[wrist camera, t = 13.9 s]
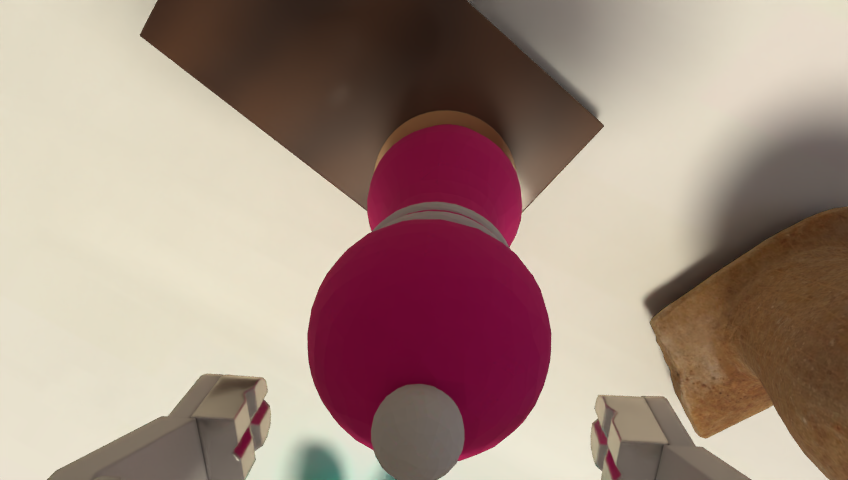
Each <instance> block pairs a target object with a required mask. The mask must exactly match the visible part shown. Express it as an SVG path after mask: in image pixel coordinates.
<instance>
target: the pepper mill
mask: <svg viewBox="0 0 848 480" xmlns="http://www.w3.org/2000/svg"><path fill="white" fill-rule="evenodd" d="M521 212H522V197H521V187H520V183H519V180H518V176H517V173H516V171H515V169H514V167H513V165H512V163H511V161H510V160H509V158H508V157H507V156H506V155H505V153H504V152H503V151H502V150H501V149H500V147H498V146H497V145H496V144H495V143H493V142H492V141H491V140H490V139H488V138H487V137H485V136H483V135H481V134H479V133H477V132H475V131H474V130H471V129H469V128H467V127H463V126H459V125H452V124H442V125H435V126H432V127H427V128H424V129H421V130H418V131H415V132H413V133H411V134H409V135H407V136H405V137H403V138H402V139H401V140H399V141H398V142H397V143H395V144H394V145H393V146H392V147H391V148H390V149H389V150H388V151H387V152H386V153H385V155H384V156H383V157H382V159H381V160H380V162H379V163H378V165H377V168H376V170H375V172H374V174H373V177H372V180H371V183H370V188H369V193H368V198H367V213H368V218H369V224H370V227H371V231H372V232H371V233H369V234H367V235H366V236H365V237H363V238H362V239H361V240H359V241H358V242H357V243H355V244H354V245H353V246H351V247H350V248H349V249H348V250H347V251H346V252H345V253H344V254H343V255H342V256H341V257H340V258H339V260H338V261H337V262H336V263H335V265H334V266H333V267H332V268H331V269H330V271H329V272H328V273H327V275H326V277H325V278H324V280H323V282H322V284H321V286H320V288H319V290H318V293H317V295H316V298H315V301H314V304H313V306H312V310H311V316H310V322H309V328H308V358H309V365H310V370H311V375H312V378H313V381H314V384H315V387H316V389H317V391H318V393H319V396H320V398H321V400H322V402H323V403H324V405H325V406H326V408H327V409H328V411H329V412H330V414H331V415H332V416H333V418H334V419H335V420H336V421H337V423H338V424H339V425H340V426H341V427H342V428H343V429H344V430H345V431H346V432H347V433H349V434H350V435H351V436H352V437H353V438H354V439H355V440H357V441H358V442H360V443H362V444H364V445H365V446H367V447H369V448H371V449H372V450H374V452H375V456H376V458H377V459H378V461H379V463H380V465H381V466H382V468H383V469H384V470H385V471H386V472H388V473H389V474H390V475H391V476H393V477H394V478H396V479H397V480H437V479H439V478H441V477H442V476H444V475H445V474H447V473H448V472H449V471H450V470H451V468H452V467H453V466H454V465H455V464H456V463H457V461H461V460H463V459H466V458H469V457H472V456H475V455H477V454H479V453H482V452H484V451H486V450H488V449H490V448H493V447H495V446H496V445H497V444H498V443H500V442H501V441H502V440H503V439H505V438H506V437H507V436H509V435H510V434H511V433H512V432H513V431H515V430H516V429H517V428H518V427H519V426H520V425H521V424H522V423H523V422H524V420H525V419H526V417H527V416H528V415H529V413H530V412H531V410H532V409H533V407H534V406H535V404H536V402H537V400H538V398H539V395H540V393H541V391H542V388H543V386H544V383H545V379H546V376H547V372H548V368H549V363H550V355H551V329H550V323H549V318H548V313H547V310H546V307H545V303H544V300H543V297H542V293H541V290H540V288H539V286H538V284H537V282H536V281H535V279H534V277H533V275H532V274H531V273H530V271H529V270H528V269H527V268H526V266H525V265H524V264H523V262H522V261H521V260H520V259H519V257H518V256H517V255H516V254H515V253H514V252H513V251H511V250H510V248H509V247H510V245H511V243H512V242H513V240H514V238H515V236H516V234H517V230H518V227H519V224H520V221H521Z"/></svg>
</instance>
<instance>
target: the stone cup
mask: <svg viewBox="0 0 848 480" xmlns="http://www.w3.org/2000/svg"><path fill="white" fill-rule="evenodd" d="M650 324H651V326H652V328H653V330H654V332H655V334H656V341H657V343H658V345H659V346H660V348H661V350H662V352H663V354H664V359H665V361H666V363H667V365H668V366H669V368H670V371H671V378H672V382H673V387H674V390H675V393H676V395H677V397H678V398H679V400H680V403H681V405H682V407H683V409H684V411H685V413H686V415H687V417H688V418H689V420H690V422H691V424H692V426H693V428H694V431H695V432H696V433H697V434H698V435H699V436H700V437H702V438H708V437H710V436H712V435H714V434H716V433H718V432H720V431H722V430H724V429H726V428H728V427H730V426H733V425H735V424H737V423H739V422H741V421H743V420H745V419H747V418H749V417H751V416H753V415H755V414H757V413H759V412H761V411H763V410H765V409H767V408H769V407H771V406H773V405H774V407H775V409H776V411H777V412H778V414H779V416H780V417H781V419H782V421H783V422H784V424H785V425H786V427H787V429H788V431H789V432H790V434H791V435H792V437H793V438H794V440H795V441H796V442H797V444H798V445H799V447H800V448H801V450H802V451H803V452H804V454H805V455H806V456H807V457H808V458H809V459H810V460H811V461H812V462H813V463H814V464H815V465H816V467H817V468H818V469H819V470H820V471H821V472H822V473H823V474H824V475H825V476H826V477H827V478H828V479H829V480H848V207H841V208H834V209H830V210H827V211H823V212H820V213H818V214H816V215H813V216H811V217H808V218H806V219H804V220H802V221H800V222H798V223H796V224H794V225H792V226H790V227H788V228H786V229H784V230H782V231H780V232H779V233H777V234H775V235H773V236H772V237H770V238H768V239H766V240H765V241H763V242H762V243H760V244H759V245H757V246H756V247H754V248H753V249H751V250H750V251H748V252H747V253H745V254H744V255H742V256H741V257H739V258H737V259H736V260H734V261H733V262H731V263H730V264H728V265H727V266H725V267H724V268H722V269H720V270H719V271H717V272H716V273H715V274H713V275H712V276H710V277H709V278H707V279H706V280H705V281H703V282H702V283H700V284H699V285H698V286H696V287H695V288H693V289H692V290H690V291H689V292H688V293H686V294H685V295H683V296H682V297H680V298H679V299H677V300H676V301H674V302H673V303H671V304H670V305H668V306H667V307H665V308H664V309H662V310H661V311H660V312H659V313H658V314H656V315H655V316H654V317H653V318H652V319H651V321H650Z"/></svg>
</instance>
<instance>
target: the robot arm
mask: <svg viewBox="0 0 848 480" xmlns="http://www.w3.org/2000/svg"><path fill="white" fill-rule="evenodd" d="M267 392H268V389H267V383H266V380H265V379H264V378H263V377H250V376H237V375H221V374H204V375H202V376H200V378H199V379H198V380H197V381H196V382H195V384H194V385H193V386H192V387H191V389H190V390H189V391H188V392H187V393H186V395H185V396H184V397H183V398H182V400H181V401H180V402H179V403H178V404H177V406H176V407H175V408H174V409H173V411H172V412H171V413H170V414H169V415H168V417H166V416H161V417H159V418H157V419H155V420H153V421H152V422H150V423H148V424H146V425H144V426H142V427H140V428H138V429H136V430H134V431H132V432H130V433H128V434H126V435H124V436H122V437H120V438H119V439H117V440H115V441H113V442H111V443H109V444H107V445H105V446H103V447H101V448H99V449H97V450H95V451H93V452H91V453H89V454H88V455H86V456H84V457H82V458H80V459H78V460H76V461H74V462H72V463H70V464H68V465H66V466H64V467H62V468H60V469H58V470H57V471H55V472H54V473H53V474H52V475H51V476H50V477H49V478H48V479H47V480H246V478H247V476H248V474H249V472H250V470H251V468H252V466H253V464H254V462H255V460H256V458H255V451H256V450H257V449H258V448H260V447H261V446H263V444H264V442H265V440H266V438H267V436H268V432H269V428H270V424H271V411H270V406H269V405H268V403H267V402H266V401H265V400H264V398H265V396H266V394H267ZM595 411H596V414H597V417H598V419H597V420H596V421H594V422H593V423H592V428H591V450H592V455H593V459H594V462H595V465H596V466H597V467H598V468H599V469H600V470H601V471H602V476H601V480H751V479H750V478H748V477H747V476H745V475H744V474H742V473H741V472H739V471H738V470H736V469H735V468H733V467H732V466H730V465H729V464H727V463H726V462H724V461H723V460H721V459H720V458H718V457H717V456H715V455H714V454H712V453H711V452H709V451H708V450H706V449H705V448H703V447H696V446H695V444H694V443H693V441H692V439H691V438H690V436H689V435H688V433H687V431H686V430H685V428H684V426H683V425H682V423H681V421H680V420H679V418H678V416H677V415H676V413H675V412H674V410H673V408H672V407H671V405H670V403H669V402H668V400H667V399H666V398H664V397H661V396H641V397H636V396H615V395H598V397H597V399H596V403H595Z"/></svg>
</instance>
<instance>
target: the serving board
mask: <svg viewBox="0 0 848 480" xmlns="http://www.w3.org/2000/svg"><path fill="white" fill-rule="evenodd" d="M140 36H141V37H142V38H144V39H145V40H146V41H147V42H149V43H150V44H151V45H153V46H154V47H155V48H157V49H158V50H159V51H160V52H162V53H163V54H164V55H166V56H167V57H168V58H169V59H171V60H172V61H173V62H175V63H176V64H177V65H179V66H180V67H181V68H182V69H184V70H185V71H186V72H188V73H189V74H190V75H192V76H193V77H194V78H195V79H197V80H198V81H199V82H201V83H202V84H203V85H204V86H206V87H207V88H208V89H210V90H211V91H212V92H214V93H215V94H216V95H217V96H219V97H220V98H221V99H223V100H224V101H225V102H227V103H228V104H229V105H230V106H232V107H233V108H234V109H236V110H237V111H238V112H239V113H241V114H242V115H243V116H245V117H246V118H247V119H249V120H250V121H251V122H252V123H254V124H255V125H256V126H258V127H259V128H260V129H262V130H263V131H264V132H265V133H267V134H268V135H269V136H271V137H272V138H273V139H274V140H276V141H277V142H278V143H280V144H281V145H282V146H284V147H285V148H286V149H287V150H289V151H290V152H291V153H293V154H294V155H295V156H297V157H298V158H299V159H300V160H302V161H303V162H304V163H306V164H307V165H308V166H309V167H311V168H312V169H313V170H315V171H316V172H317V173H319V174H320V175H321V176H322V177H324V178H325V179H326V180H328V181H329V182H330V183H332V184H333V185H334V186H335V187H337V188H338V189H339V190H341V191H342V192H343V193H344V194H346V195H347V196H348V197H350V198H351V199H352V200H354V201H355V202H356V203H357V204H359V205H360V206H361V207H363V208H364V209H365V210H367V198H368V193H369V188H370V183H371V180H372V177H373V174H374V172H375V170H376V168H377V165H378V163H379V162H380V160H381V159H382V157H383V156H384V155H385V153H386V152H387V151H388V150H389V149H390V148H391V147H392V146H393V145H394V144H395V143H397V142H398V141H399V140H401V139H402V138H403V137H405V136H407V135H409V134H411V133H413V132H415V131H418V130H421V129H424V128H427V127H432V126H435V125H442V124H452V125H459V126H463V127H467V128H469V129H471V130H474V131H475V132H477V133H479V134H481V135H483V136H485V137H487V138H488V139H490V140H491V141H492V142H493V143H495V144H496V145H497V146H498V147H500V149H501V150H502V151H503V152H504V153H505V155H506V156H507V157H508V158H509V160H510V161H511V163H512V165H513V167H514V169H515V171H516V173H517V176H518V180H519V183H520V187H521V197H522V212H523V211H524V210H525V209H526V208H527V207H528V206H529V205H530V204H531V203H532V202H533V201H534V199H535V198H536V197H537V196H538V195H539V194H540V193H541V192H542V191H543V190H544V189H545V188H546V187H547V186H548V185H549V184H550V183H551V182H552V181H553V179H554V178H555V177H556V176H557V175H558V174H559V173H560V172H561V171H562V170H563V169H564V168H565V167H566V166H567V165H568V164H569V163H570V162H571V161H572V159H573V158H574V157H575V156H576V155H577V154H578V153H579V152H580V151H581V150H582V149H583V148H584V147H585V146H586V145H587V144H588V143H589V142H590V140H591V139H592V138H593V137H594V136H595V135H596V134H597V133H598V132H599V131H600V130H601V129H602V128H603V127H604V125H603V124H602V123H601V122H600V121H599V120H598V119H597V118H595V117H594V116H593V115H592V114H591V113H590V112H589V111H588V110H587V109H586V108H584V107H583V106H582V105H581V104H580V103H579V102H578V101H577V100H576V99H575V98H573V97H572V96H571V95H570V94H569V93H568V92H567V91H566V90H565V89H564V88H562V87H561V86H560V85H559V84H558V83H557V82H556V81H555V80H554V79H552V78H551V77H550V76H549V75H548V74H547V73H546V72H545V71H544V70H543V69H541V68H540V67H539V66H538V65H537V64H536V63H535V62H534V61H533V60H532V59H530V58H529V57H528V56H527V55H526V54H525V53H524V52H523V51H522V50H521V49H519V48H518V47H517V46H516V45H515V44H514V43H513V42H512V41H511V40H509V39H508V38H507V37H506V36H505V35H504V34H503V33H502V32H501V31H500V30H498V29H497V28H496V27H495V26H494V25H493V24H492V23H491V22H490V21H489V20H487V19H486V18H485V17H484V16H483V15H482V14H481V13H480V12H479V11H478V10H476V9H475V8H474V7H473V6H472V5H471V4H470V3H469V2H468V1H466V0H158V1H157V2H156V4H155V6H154V8H153V10H152V12H151V14H150V16H149V18H148V20H147V22H146V24H145V26H144V28H143V30H142V32H141V34H140ZM522 212H521V213H522Z"/></svg>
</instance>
